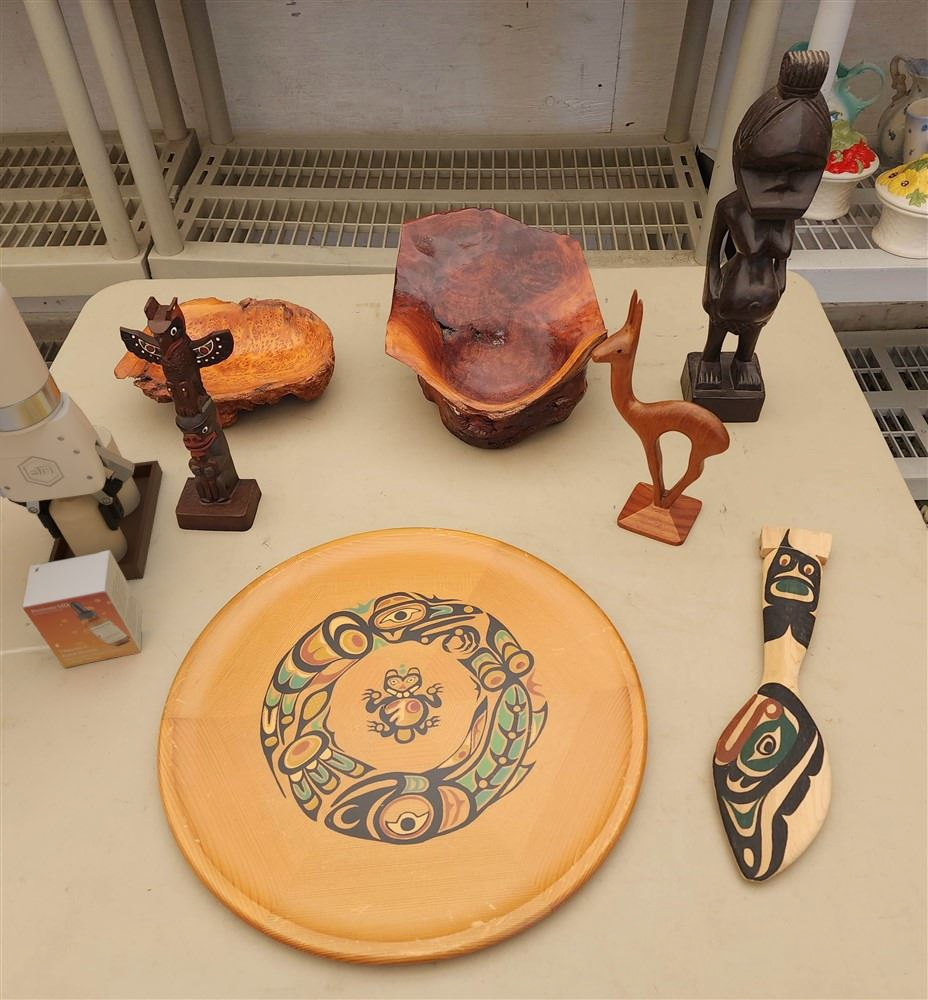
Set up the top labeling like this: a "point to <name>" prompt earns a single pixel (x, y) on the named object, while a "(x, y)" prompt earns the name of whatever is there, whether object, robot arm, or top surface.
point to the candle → (86, 526)
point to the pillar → (129, 490)
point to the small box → (84, 609)
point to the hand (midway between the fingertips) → (88, 524)
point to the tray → (130, 524)
